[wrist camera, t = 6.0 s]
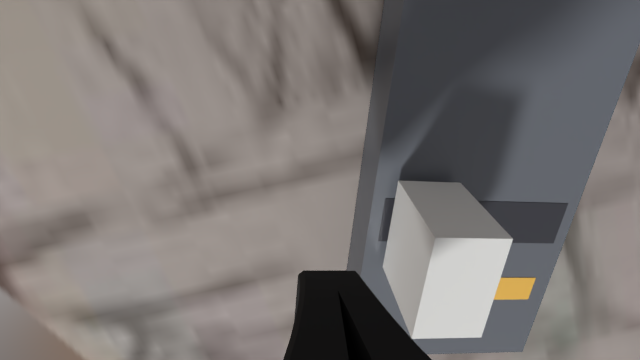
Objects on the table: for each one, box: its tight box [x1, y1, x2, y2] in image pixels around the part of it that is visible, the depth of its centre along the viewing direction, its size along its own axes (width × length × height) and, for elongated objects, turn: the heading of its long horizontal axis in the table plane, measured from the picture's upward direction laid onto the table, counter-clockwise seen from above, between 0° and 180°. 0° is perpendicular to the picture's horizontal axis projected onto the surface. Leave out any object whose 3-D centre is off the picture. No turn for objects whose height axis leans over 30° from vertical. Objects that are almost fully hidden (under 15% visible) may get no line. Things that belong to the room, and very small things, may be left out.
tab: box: [383, 181, 513, 339], centre depth 13 cm, size 2×3×3 cm, turn 175°
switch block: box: [347, 0, 640, 354], centre depth 14 cm, size 7×22×2 cm, turn 175°
